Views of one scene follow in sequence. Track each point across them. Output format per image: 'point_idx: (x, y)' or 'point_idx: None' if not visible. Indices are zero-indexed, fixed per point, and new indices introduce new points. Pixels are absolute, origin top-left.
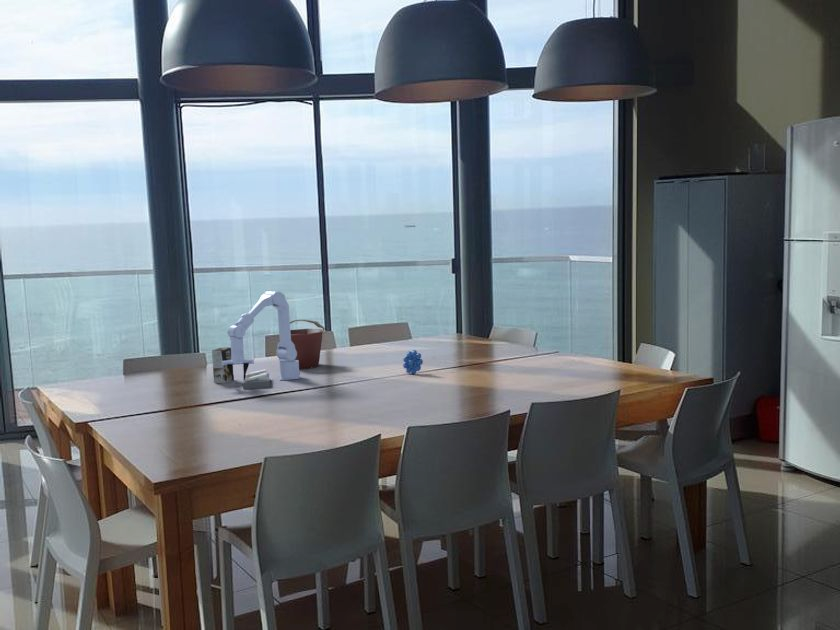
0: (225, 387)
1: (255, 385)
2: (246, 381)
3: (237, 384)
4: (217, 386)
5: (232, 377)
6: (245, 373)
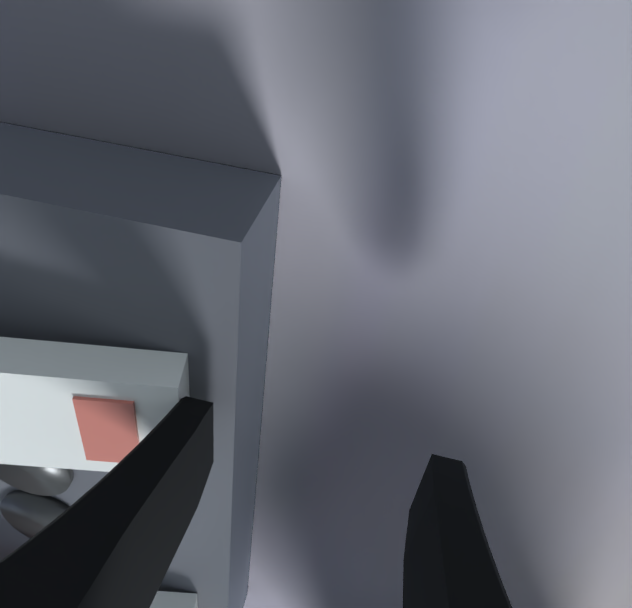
0: (542, 466)
1: (10, 153)
2: (168, 340)
3: (337, 521)
4: (616, 563)
5: (465, 515)
6: (84, 503)
